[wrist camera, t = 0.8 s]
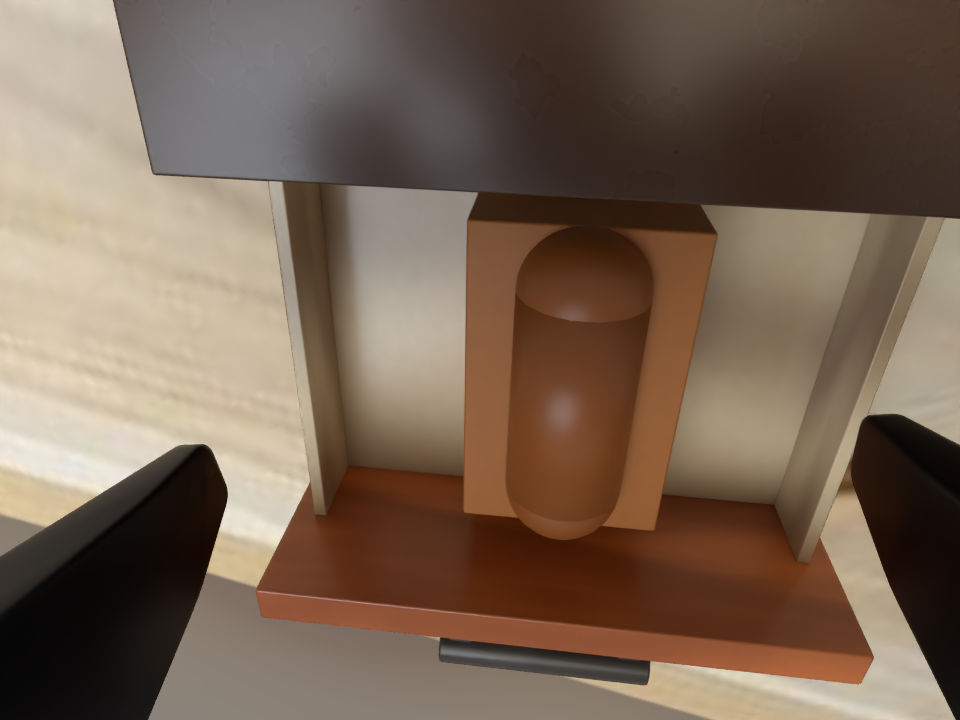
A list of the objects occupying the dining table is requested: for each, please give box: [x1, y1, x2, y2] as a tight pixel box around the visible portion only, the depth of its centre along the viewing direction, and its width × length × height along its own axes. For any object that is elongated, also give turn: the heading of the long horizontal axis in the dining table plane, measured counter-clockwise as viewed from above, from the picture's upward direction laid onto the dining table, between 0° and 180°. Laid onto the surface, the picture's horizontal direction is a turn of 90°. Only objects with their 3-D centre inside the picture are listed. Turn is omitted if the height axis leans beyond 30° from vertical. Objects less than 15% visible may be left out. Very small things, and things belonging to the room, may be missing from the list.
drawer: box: [256, 181, 944, 685], centre depth 18 cm, size 21×17×6 cm
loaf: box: [463, 193, 718, 540], centre depth 18 cm, size 9×6×5 cm, turn 179°
